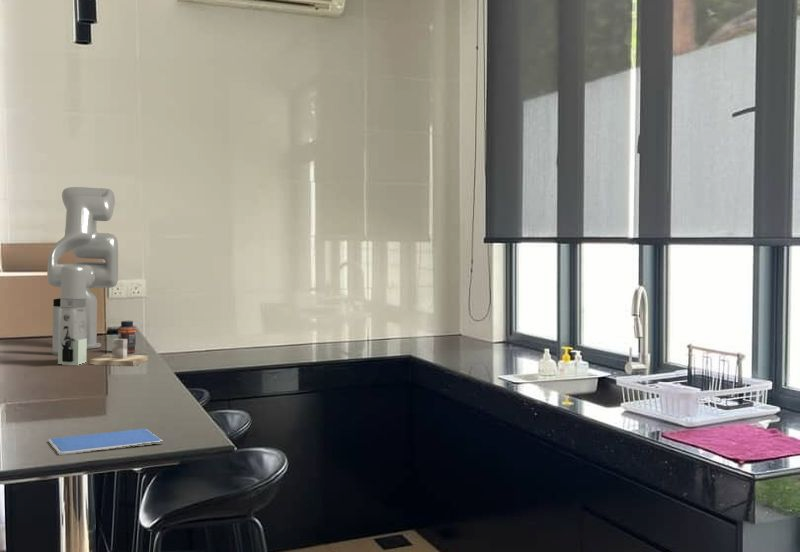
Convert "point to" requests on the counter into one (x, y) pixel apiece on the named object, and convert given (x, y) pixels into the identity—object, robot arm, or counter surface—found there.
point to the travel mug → (56, 324)
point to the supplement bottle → (128, 335)
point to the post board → (119, 361)
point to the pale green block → (74, 352)
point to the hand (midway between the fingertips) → (72, 359)
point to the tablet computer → (102, 441)
